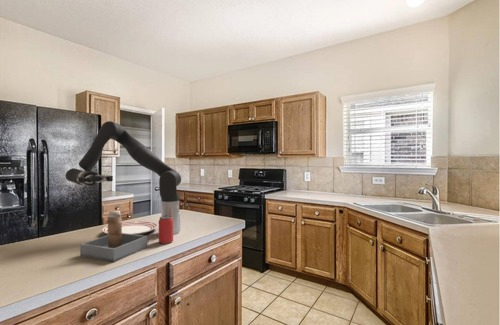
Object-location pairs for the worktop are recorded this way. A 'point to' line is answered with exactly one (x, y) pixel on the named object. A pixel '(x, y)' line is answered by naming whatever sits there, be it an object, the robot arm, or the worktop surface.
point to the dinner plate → (135, 227)
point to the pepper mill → (114, 229)
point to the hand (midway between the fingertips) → (101, 179)
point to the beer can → (165, 229)
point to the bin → (102, 252)
